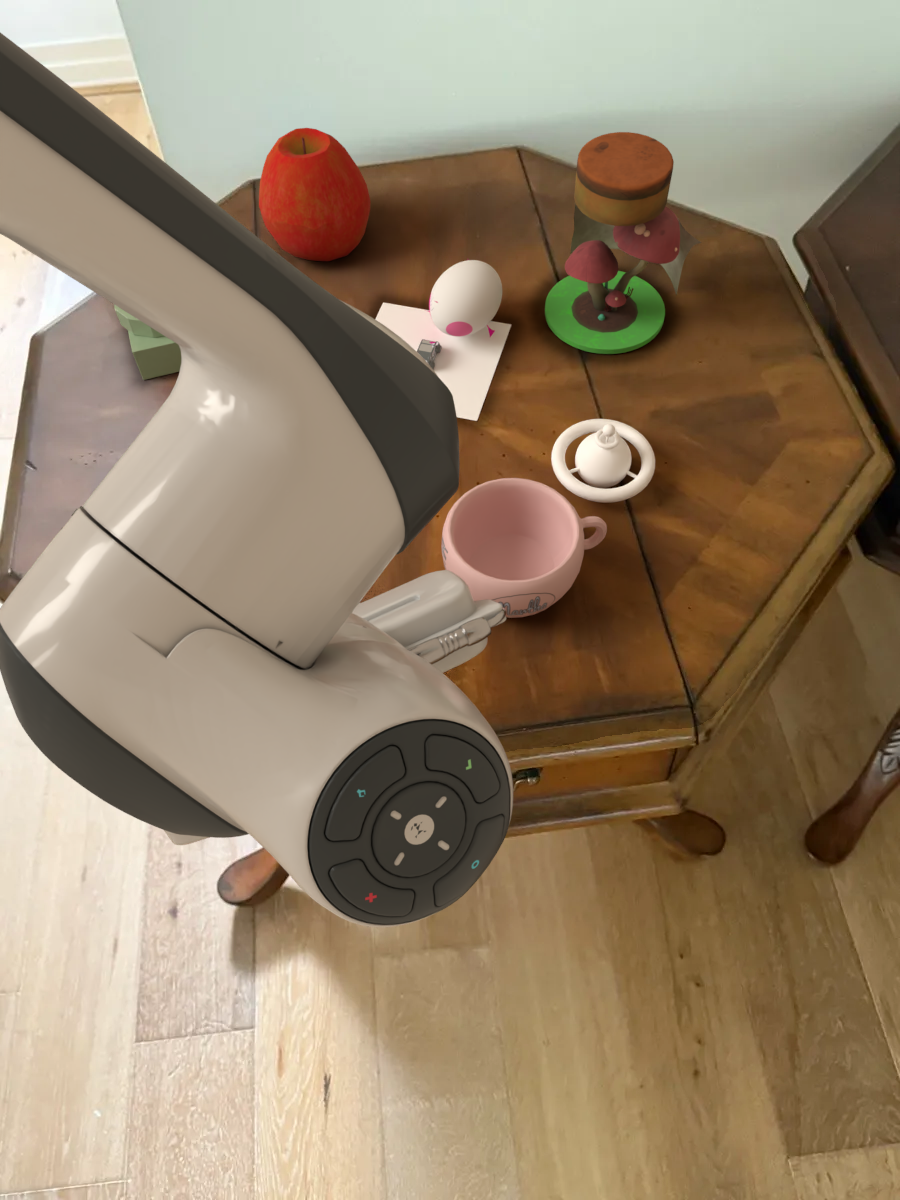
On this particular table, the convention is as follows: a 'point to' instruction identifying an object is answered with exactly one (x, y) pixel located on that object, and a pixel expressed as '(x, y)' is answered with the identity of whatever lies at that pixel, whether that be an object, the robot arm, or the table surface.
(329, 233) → the apple
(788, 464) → the table surface
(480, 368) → the thin white square mat
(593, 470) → the ring around a ball
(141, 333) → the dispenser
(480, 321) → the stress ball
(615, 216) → the mushroom terrarium figurine
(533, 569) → the mug
